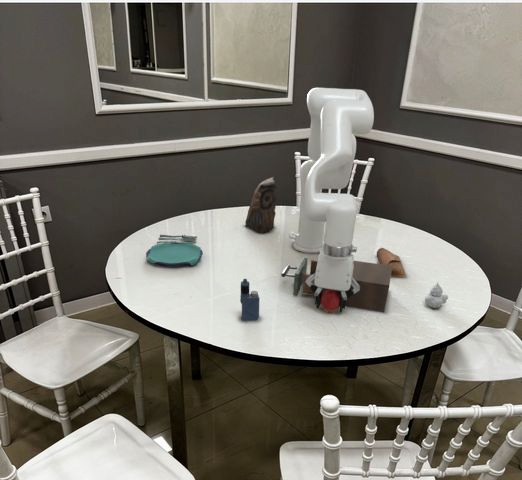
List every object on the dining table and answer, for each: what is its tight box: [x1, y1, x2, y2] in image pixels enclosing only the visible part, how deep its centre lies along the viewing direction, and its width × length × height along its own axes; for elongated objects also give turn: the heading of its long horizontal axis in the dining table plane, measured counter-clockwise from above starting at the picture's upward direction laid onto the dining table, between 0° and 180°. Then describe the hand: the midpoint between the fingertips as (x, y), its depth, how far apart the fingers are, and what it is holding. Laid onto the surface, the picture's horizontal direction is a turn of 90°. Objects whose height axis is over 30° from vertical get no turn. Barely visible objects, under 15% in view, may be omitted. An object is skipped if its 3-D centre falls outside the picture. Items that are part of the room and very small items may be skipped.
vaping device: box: [239, 278, 260, 322], centre depth 129 cm, size 3×5×12 cm, turn 95°
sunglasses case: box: [376, 247, 406, 278], centre depth 166 cm, size 18×7×7 cm
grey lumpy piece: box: [424, 282, 449, 309], centre depth 140 cm, size 5×7×8 cm
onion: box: [320, 289, 341, 313], centre depth 135 cm, size 6×6×8 cm
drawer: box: [280, 256, 329, 297], centre depth 146 cm, size 20×14×7 cm
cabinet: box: [336, 260, 392, 313], centre depth 143 cm, size 16×15×9 cm
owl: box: [244, 176, 278, 235], centre depth 191 cm, size 13×13×20 cm
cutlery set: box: [145, 234, 204, 267], centre depth 171 cm, size 20×30×2 cm, turn 2°
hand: (329, 307), depth 136 cm, fingers closed on onion, 6 cm apart
